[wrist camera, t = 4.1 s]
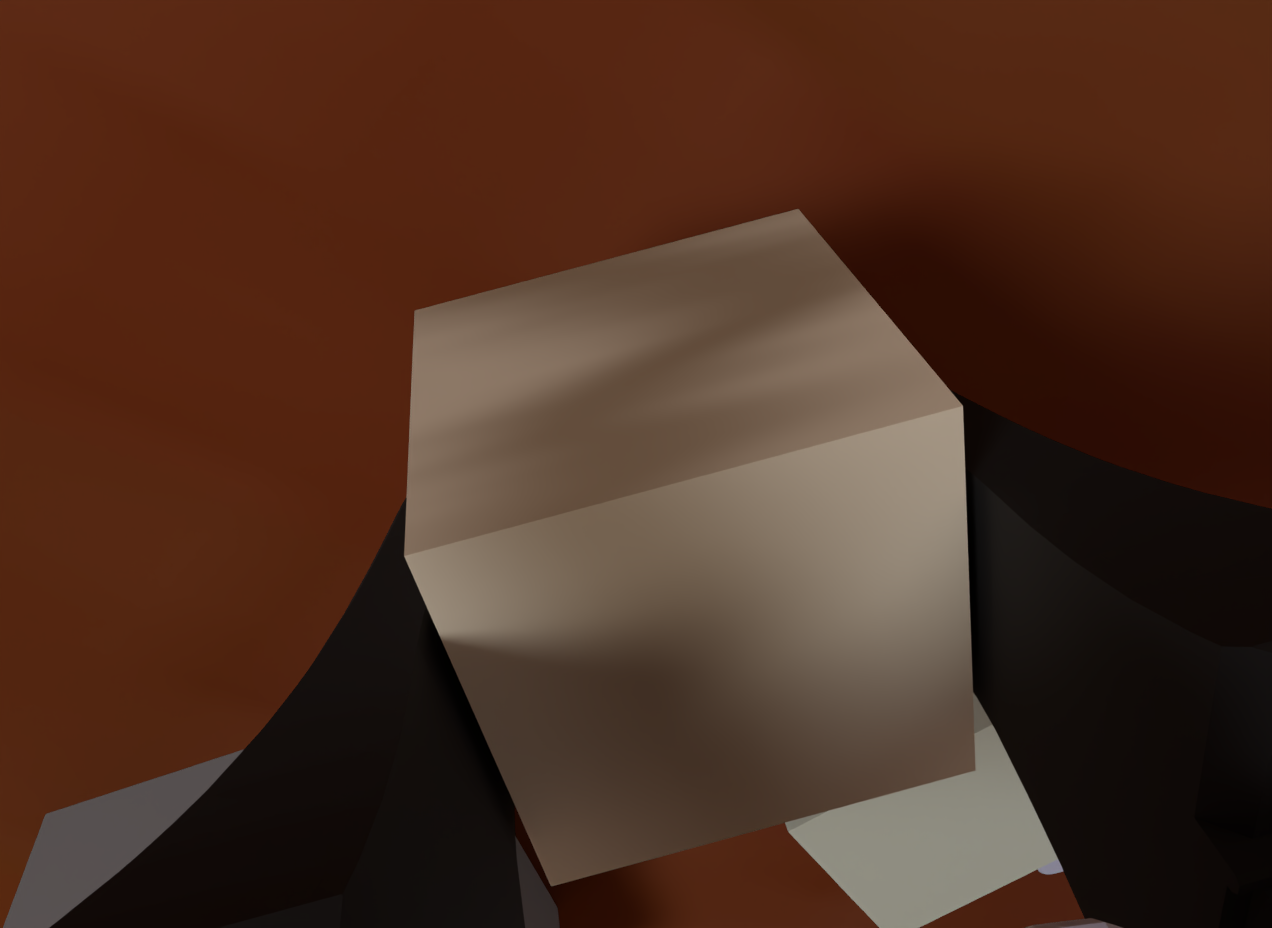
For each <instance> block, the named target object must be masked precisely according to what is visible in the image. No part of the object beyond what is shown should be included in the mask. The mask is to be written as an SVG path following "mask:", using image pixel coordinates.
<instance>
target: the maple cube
mask: <svg viewBox="0 0 1272 928" xmlns="http://www.w3.org/2000/svg"><path fill="white" fill-rule="evenodd" d="M404 557H405V559H406V561H407V564H408V566H409V568H410V570H411V573H412V575H413V577H414V579H415V582H416V584H417V586H418V588H419V591H420V593H421V595H422V597H423V600H424V602H425V604H426V606H427V609H428V611H429V613H430V615H431V618H432V620H433V622H434V624H435V627H436V629H437V631H438V633H439V636H440V638H441V640H442V642H443V645H444V647H445V649H446V651H447V654H448V656H449V658H450V660H451V663H452V665H453V667H454V669H455V672H456V674H457V676H458V678H459V681H460V683H461V685H462V687H463V690H464V692H465V694H466V696H467V699H468V701H469V703H470V705H471V708H472V710H473V712H474V714H475V717H476V719H477V721H478V723H479V726H480V728H481V730H482V732H483V735H484V737H485V739H486V741H487V744H488V746H489V748H490V750H491V753H492V755H493V757H494V759H495V762H496V764H497V766H498V768H499V771H500V773H501V775H502V777H503V780H504V782H505V784H506V786H507V789H508V791H509V793H510V795H511V798H512V800H513V802H514V804H515V807H516V809H517V811H518V813H519V816H520V818H521V820H522V822H523V825H524V827H525V829H526V831H527V834H528V836H529V838H530V840H531V843H532V845H533V847H534V849H535V852H536V854H537V856H538V858H539V861H540V863H541V865H542V867H543V870H544V872H545V874H546V876H547V879H548V881H549V883H550V885H551V886H555V885H559V884H562V883H566V882H570V881H573V880H577V879H581V878H584V877H588V876H592V875H595V874H599V873H603V872H606V871H610V870H614V869H617V868H621V867H625V866H628V865H632V864H636V863H639V862H643V861H647V860H650V859H654V858H657V857H661V856H665V855H668V854H672V853H676V852H679V851H683V850H687V849H690V848H694V847H698V846H701V845H705V844H709V843H712V842H716V841H720V840H723V839H727V838H731V837H734V836H738V835H742V834H745V833H749V832H753V831H756V830H760V829H763V828H767V827H771V826H774V825H778V824H782V823H785V822H789V821H793V820H796V819H800V818H804V817H807V816H811V815H815V814H818V813H822V812H826V811H829V810H833V809H837V808H840V807H844V806H848V805H851V804H855V803H858V802H862V801H866V800H869V799H873V798H877V797H880V796H884V795H888V794H891V793H895V792H899V791H902V790H906V789H910V788H913V787H917V786H921V785H924V784H928V783H932V782H935V781H939V780H943V779H946V778H950V777H954V776H957V775H961V774H964V773H968V772H972V771H975V770H976V766H975V737H974V709H973V680H972V651H971V622H970V594H969V565H968V536H967V508H966V479H965V450H964V422H963V405H962V404H961V403H960V402H959V401H958V399H957V398H956V397H955V396H954V395H953V393H952V392H951V391H950V390H949V389H948V387H947V386H946V385H945V384H944V383H943V381H942V380H941V379H940V378H939V377H938V376H937V374H936V373H935V372H934V371H933V370H932V368H931V367H930V366H929V365H928V364H927V362H926V361H925V360H924V359H923V358H922V356H921V355H920V354H919V353H918V352H917V350H916V349H915V348H914V347H913V346H912V344H911V343H910V342H909V341H908V340H907V338H906V337H905V336H904V335H903V334H902V332H901V331H900V330H899V329H898V328H897V326H896V325H895V324H894V323H893V322H892V320H891V319H890V318H889V317H888V316H887V314H886V313H885V312H884V311H883V310H882V309H881V307H880V306H879V305H878V304H877V303H876V301H875V300H874V299H873V298H872V297H871V295H870V294H869V293H868V292H867V291H866V289H865V288H864V287H863V286H862V285H861V283H860V282H859V281H858V280H857V279H856V277H855V276H854V275H853V274H852V273H851V271H850V270H849V269H848V268H847V267H846V265H845V264H844V263H843V262H842V261H841V259H840V258H839V257H838V256H837V255H836V253H835V252H834V251H833V250H832V249H831V248H830V246H829V245H828V244H827V243H826V242H825V240H824V239H823V238H822V237H821V236H820V234H819V233H818V232H817V231H816V230H815V228H814V227H813V226H812V225H811V224H810V222H809V221H808V220H807V219H806V218H805V216H804V215H803V214H802V213H801V212H800V210H799V209H796V210H792V211H788V212H785V213H781V214H777V215H773V216H770V217H766V218H762V219H758V220H755V221H751V222H747V223H743V224H739V225H736V226H732V227H728V228H724V229H721V230H717V231H713V232H709V233H706V234H702V235H698V236H694V237H691V238H687V239H683V240H679V241H675V242H672V243H668V244H664V245H660V246H657V247H653V248H649V249H645V250H642V251H638V252H634V253H630V254H626V255H623V256H619V257H615V258H611V259H608V260H604V261H600V262H596V263H593V264H589V265H585V266H581V267H578V268H574V269H570V270H566V271H562V272H559V273H555V274H551V275H547V276H544V277H540V278H536V279H532V280H529V281H525V282H521V283H517V284H514V285H510V286H506V287H502V288H498V289H495V290H491V291H487V292H483V293H480V294H476V295H472V296H468V297H465V298H461V299H457V300H453V301H450V302H446V303H442V304H438V305H434V306H431V307H427V308H423V309H419V310H416V311H415V315H414V338H413V362H412V385H411V408H410V432H409V455H408V478H407V502H406V525H405V548H404Z"/></svg>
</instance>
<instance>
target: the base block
mask: <svg viewBox="0 0 1272 928" xmlns="http://www.w3.org/2000/svg"><path fill="white" fill-rule="evenodd" d="M242 751H243V750H241V751H238V752H235V753H232V754H229V755H226V756H222V757H219V758H216V759H213V760H210V761H207V762H204V763H201V764H198V765H195V766H192V767H189V768H186V769H183V770H180V771H177V772H174V773H170V774H167V775H164V776H161V777H158V778H155V779H152V780H149V781H146V782H143V783H140V784H137V785H134V786H131V787H128V788H125V789H121V790H118V791H115V792H112V793H109V794H106V795H103V796H100V797H97V798H94V799H91V800H88V801H85V802H82V803H79V804H76V805H73V806H69V807H66V808H63V809H60V810H57V811H54V812H51V813H48V814H46V815H45V817H44V820H43V823H42V825H41V828H40V831H39V833H38V836H37V839H36V841H35V844H34V847H33V849H32V852H31V855H30V857H29V860H28V863H27V865H26V868H25V871H24V873H23V876H22V879H21V881H20V884H19V887H18V889H17V892H16V895H15V897H14V900H13V903H12V905H11V908H10V911H9V913H8V916H7V919H6V921H5V924H4V927H3V928H49V927H51V926H52V925H53V924H55V923H56V922H57V921H58V920H60V919H61V918H62V917H63V916H65V915H66V914H67V913H68V912H70V911H71V910H72V909H73V908H74V907H76V906H77V905H78V904H79V903H81V902H82V901H83V900H84V899H86V898H87V897H88V896H89V895H91V894H92V893H93V892H94V891H96V890H97V889H98V888H99V887H101V886H102V885H103V884H104V883H105V882H107V881H108V880H109V879H110V878H112V877H113V876H114V875H115V874H117V873H118V872H119V871H120V870H121V869H123V868H124V867H125V866H126V865H127V864H128V863H130V862H131V861H132V860H133V859H134V858H135V857H136V856H138V855H139V854H140V853H141V852H142V851H143V850H144V849H145V848H147V847H148V846H149V845H150V844H151V843H152V842H153V841H154V840H155V839H156V838H157V837H159V836H160V835H161V834H162V833H163V832H164V831H165V830H166V829H167V828H168V827H170V826H171V825H172V824H173V823H174V822H175V821H176V820H177V819H178V818H179V817H180V816H181V815H182V814H183V813H184V812H185V811H186V810H187V809H188V808H189V807H190V806H191V805H192V804H193V803H194V802H195V801H197V800H198V799H199V798H200V797H201V796H202V795H203V794H204V793H205V792H206V791H207V790H208V789H209V787H210V786H211V785H212V784H213V783H214V782H215V781H216V780H217V779H218V778H219V777H220V775H221V774H222V773H223V772H224V771H225V770H226V769H227V768H228V767H229V766H230V765H231V763H232V762H233V761H234V760H235V759H236V758H237V757H238V756H239V755H240V754H241V752H242ZM515 838H516V836H515ZM516 854H517V865H518V873H519V881H520V889H521V897H522V905H523V914H524V922H525V928H560V926H559V916H558V908H557V906H556V904H555V903H554V901H553V899H552V898H551V896H550V894H549V892H548V891H547V889H546V887H545V886H544V884H543V882H542V880H541V879H540V877H539V875H538V874H537V872H536V870H535V869H534V867H533V865H532V863H531V862H530V860H529V858H528V857H527V855H526V853H525V852H524V850H523V848H522V846H521V845H520V843H519V841H518V840H517V838H516Z"/></svg>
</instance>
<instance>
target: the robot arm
mask: <svg viewBox="0 0 1272 928" xmlns="http://www.w3.org/2000/svg"><path fill="white" fill-rule="evenodd" d="M950 391H951V390H950ZM951 392H952V393H953V395H954V396H955V397H956V398H957V399H958V401H959V402H960V403H961V404H962V405H963V422H964V450H965V479H966V508H967V536H968V565H969V594H970V622H971V651H972V680H973V693H974V694H975V696H976V697H977V699H978V701H979V702H980V704H981V706H982V708H983V709H984V711H985V713H986V714H987V716H988V718H989V720H990V721H991V723H992V725H993V727H994V728H995V730H996V732H997V734H998V736H999V738H1000V740H1001V742H1002V744H1003V746H1004V748H1005V750H1006V752H1007V754H1008V756H1009V758H1010V760H1011V762H1012V764H1013V767H1014V769H1015V771H1016V773H1017V775H1018V777H1019V779H1020V781H1021V783H1022V785H1023V787H1024V789H1025V791H1026V793H1027V795H1028V797H1029V799H1030V801H1031V803H1032V805H1033V807H1034V809H1035V812H1036V814H1037V816H1038V818H1039V820H1040V822H1041V824H1042V826H1043V828H1044V831H1045V833H1046V835H1047V837H1048V839H1049V841H1050V843H1051V845H1052V847H1053V850H1054V852H1055V854H1056V856H1057V858H1058V859H1057V860H1055V861H1053V862H1051V863H1049V864H1047V865H1045V866H1043V867H1041V868H1039V869H1038V871H1039V872H1041V873H1043V874H1055V873H1059V872H1062V871H1064V873H1065V875H1066V878H1067V880H1068V882H1069V884H1070V886H1071V889H1072V891H1073V893H1074V895H1075V898H1076V900H1077V902H1078V904H1079V906H1080V909H1081V911H1082V913H1083V915H1084V918H1085V919H1080V920H1072V921H1064V922H1055V923H1047V924H1039V925H1032V926H1029V927H1025V928H1272V509H1271V508H1266V507H1261V506H1257V505H1253V504H1249V503H1244V502H1240V501H1236V500H1232V499H1228V498H1224V497H1220V496H1215V495H1211V494H1207V493H1203V492H1200V491H1196V490H1192V489H1189V488H1185V487H1182V486H1178V485H1175V484H1171V483H1168V482H1165V481H1162V480H1159V479H1156V478H1153V477H1150V476H1147V475H1144V474H1141V473H1137V472H1134V471H1131V470H1128V469H1125V468H1122V467H1119V466H1116V465H1114V464H1111V463H1108V462H1106V461H1103V460H1100V459H1097V458H1095V457H1092V456H1090V455H1087V454H1085V453H1083V452H1080V451H1078V450H1075V449H1073V448H1070V447H1068V446H1066V445H1063V444H1061V443H1058V442H1056V441H1054V440H1051V439H1049V438H1047V437H1044V436H1042V435H1040V434H1038V433H1036V432H1033V431H1031V430H1029V429H1027V428H1025V427H1023V426H1020V425H1018V424H1016V423H1014V422H1012V421H1010V420H1008V419H1006V418H1004V417H1002V416H1000V415H998V414H996V413H994V412H992V411H990V410H988V409H986V408H984V407H982V406H980V405H978V404H976V403H974V402H972V401H970V400H968V399H966V398H964V397H963V396H961V395H959V394H957V393H955V392H953V391H951ZM406 502H407V497H406V499H405V501H404V502H403V504H402V506H401V508H400V510H399V511H398V513H397V515H396V517H395V519H394V521H393V523H392V525H391V527H390V529H389V531H388V533H387V535H386V537H385V539H384V541H383V543H382V545H381V547H380V549H379V551H378V553H377V555H376V557H375V559H374V561H373V563H372V564H371V566H370V568H369V570H368V572H367V574H366V576H365V577H364V579H363V581H362V583H361V585H360V586H359V588H358V590H357V592H356V594H355V595H354V597H353V599H352V601H351V603H350V604H349V606H348V608H347V610H346V611H345V613H344V615H343V616H342V618H341V620H340V621H339V623H338V624H337V626H336V628H335V629H334V631H333V632H332V634H331V636H330V637H329V639H328V640H327V642H326V643H325V645H324V647H323V648H322V650H321V651H320V653H319V654H318V656H317V658H316V659H315V661H314V662H313V664H312V665H311V667H310V668H309V670H308V671H307V673H306V674H305V675H304V677H303V678H302V679H301V681H300V682H299V683H298V685H297V686H296V688H295V689H294V690H293V691H292V693H291V694H290V695H289V697H288V698H287V699H286V700H285V702H284V703H283V704H282V705H281V707H280V708H279V709H278V711H277V712H276V713H275V714H274V716H273V717H272V718H271V720H270V721H269V722H268V723H267V724H266V726H265V727H264V728H263V729H262V730H261V732H260V733H259V734H258V735H257V736H256V737H255V738H254V739H253V740H252V741H251V743H250V744H249V745H248V746H247V747H246V748H245V749H244V750H243V751H242V752H241V754H240V755H239V756H238V757H237V758H236V759H235V760H234V761H233V762H232V763H231V765H230V766H229V767H228V768H227V769H226V770H225V771H224V772H223V773H222V774H221V775H220V777H219V778H218V779H217V780H216V781H215V782H214V783H213V784H212V785H211V786H210V787H209V789H208V790H207V791H206V792H205V793H204V794H203V795H202V796H201V797H200V798H199V799H198V800H197V801H195V802H194V803H193V804H192V805H191V806H190V807H189V808H188V809H187V810H186V811H185V812H184V813H183V814H182V815H181V816H180V817H179V818H178V819H177V820H176V821H175V822H174V823H173V824H172V825H171V826H170V827H168V828H167V829H166V830H165V831H164V832H163V833H162V834H161V835H160V836H159V837H157V838H156V839H155V840H154V841H153V842H152V843H151V844H150V845H149V846H148V847H147V848H145V849H144V850H143V851H142V852H141V853H140V854H139V855H138V856H136V857H135V858H134V859H133V860H132V861H131V862H130V863H128V864H127V865H126V866H125V867H124V868H123V869H121V870H120V871H119V872H118V873H117V874H115V875H114V876H113V877H112V878H110V879H109V880H108V881H107V882H105V883H104V884H103V885H102V886H101V887H99V888H98V889H97V890H96V891H94V892H93V893H92V894H91V895H89V896H88V897H87V898H86V899H84V900H83V901H82V902H81V903H79V904H78V905H77V906H76V907H74V908H73V909H72V910H71V911H70V912H68V913H67V914H66V915H65V916H63V917H62V918H61V919H60V920H58V921H57V922H56V923H55V924H53V925H52V926H51V927H49V928H525V922H524V914H523V905H522V897H521V889H520V881H519V873H518V865H517V854H516V838H515V814H514V802H513V800H512V798H511V795H510V793H509V791H508V789H507V786H506V784H505V782H504V780H503V777H502V775H501V773H500V771H499V768H498V766H497V764H496V762H495V759H494V757H493V755H492V753H491V750H490V748H489V746H488V744H487V741H486V739H485V737H484V735H483V732H482V730H481V728H480V726H479V723H478V721H477V719H476V717H475V714H474V712H473V710H472V708H471V705H470V703H469V701H468V699H467V696H466V694H465V692H464V690H463V687H462V685H461V683H460V681H459V678H458V676H457V674H456V672H455V669H454V667H453V665H452V663H451V660H450V658H449V656H448V654H447V651H446V649H445V647H444V645H443V642H442V640H441V638H440V636H439V633H438V631H437V629H436V627H435V624H434V622H433V620H432V618H431V615H430V613H429V611H428V609H427V606H426V604H425V602H424V600H423V597H422V595H421V593H420V591H419V588H418V586H417V584H416V582H415V579H414V577H413V575H412V573H411V570H410V568H409V566H408V564H407V561H406V559H405V557H404V548H405V525H406Z"/></svg>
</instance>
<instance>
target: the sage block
mask: <svg viewBox="0 0 1272 928" xmlns="http://www.w3.org/2000/svg"><path fill="white" fill-rule="evenodd" d="M973 709H974V737H975V766H976V770H975V771H972V772H968V773H964V774H961V775H957V776H954V777H950V778H946V779H943V780H939V781H935V782H932V783H928V784H924V785H921V786H917V787H913V788H910V789H906V790H902V791H899V792H895V793H891V794H888V795H884V796H880V797H877V798H873V799H869V800H866V801H862V802H858V803H855V804H851V805H848V806H844V807H840V808H837V809H833V810H829V811H826V812H822V813H818V814H815V815H811V816H807V817H804V818H800V819H796V820H793V821H789V822H785V824H786V827H787V830H788V832H789V833H790V834H791V835H792V836H793V837H794V838H795V839H796V840H797V841H798V842H799V844H800V845H801V846H802V847H803V848H804V849H805V850H806V851H807V852H808V853H809V854H810V855H811V856H812V857H813V858H814V859H815V860H816V861H817V862H818V864H819V865H820V866H821V867H822V868H823V869H824V870H825V871H826V872H827V873H828V874H829V875H830V876H831V877H832V878H833V879H834V880H835V881H836V882H837V884H838V885H839V886H840V887H841V888H842V889H843V890H844V891H845V892H846V893H847V894H848V895H849V896H850V897H851V898H852V899H853V900H854V901H855V902H856V904H857V905H858V906H859V907H860V908H861V909H862V910H863V911H864V912H865V913H866V914H867V915H868V916H869V917H870V918H871V919H872V920H873V921H874V922H875V924H876V925H877V926H878V927H879V928H919V927H921V926H923V925H925V924H927V923H929V922H931V921H933V920H935V919H937V918H939V917H942V916H944V915H946V914H948V913H950V912H952V911H954V910H956V909H958V908H960V907H962V906H964V905H966V904H968V903H970V902H972V901H974V900H976V899H978V898H980V897H982V896H984V895H986V894H988V893H990V892H992V891H994V890H996V889H998V888H1000V887H1002V886H1004V885H1006V884H1009V883H1011V882H1013V881H1015V880H1017V879H1019V878H1021V877H1023V876H1025V875H1027V874H1029V873H1031V872H1033V871H1035V870H1037V869H1039V868H1041V867H1043V866H1045V865H1047V864H1049V863H1051V862H1053V861H1055V860H1057V859H1058V858H1057V856H1056V854H1055V852H1054V850H1053V847H1052V845H1051V843H1050V841H1049V839H1048V837H1047V835H1046V833H1045V831H1044V828H1043V826H1042V824H1041V822H1040V820H1039V818H1038V816H1037V814H1036V812H1035V809H1034V807H1033V805H1032V803H1031V801H1030V799H1029V797H1028V795H1027V793H1026V791H1025V789H1024V787H1023V785H1022V783H1021V781H1020V779H1019V777H1018V775H1017V773H1016V771H1015V769H1014V767H1013V764H1012V762H1011V760H1010V758H1009V756H1008V754H1007V752H1006V750H1005V748H1004V746H1003V744H1002V742H1001V740H1000V738H999V736H998V734H997V732H996V730H995V728H994V727H993V725H992V723H991V721H990V720H989V718H988V716H987V714H986V713H985V711H984V709H983V708H982V706H981V704H980V702H979V701H978V699H977V697H976V696H975V694H974V693H973Z"/></svg>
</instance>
